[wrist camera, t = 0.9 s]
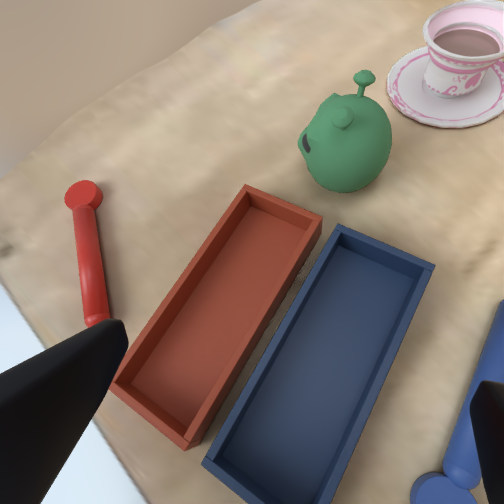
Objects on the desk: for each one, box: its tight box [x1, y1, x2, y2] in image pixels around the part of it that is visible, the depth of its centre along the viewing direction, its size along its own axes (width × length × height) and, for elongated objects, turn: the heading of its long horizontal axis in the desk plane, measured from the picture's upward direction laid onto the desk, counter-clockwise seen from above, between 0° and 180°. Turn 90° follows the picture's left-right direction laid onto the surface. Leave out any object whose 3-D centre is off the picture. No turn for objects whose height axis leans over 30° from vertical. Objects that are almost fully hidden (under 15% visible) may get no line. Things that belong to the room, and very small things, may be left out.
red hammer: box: [64, 180, 110, 328], centre depth 31 cm, size 17×4×2 cm, turn 20°
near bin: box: [201, 224, 435, 504], centre depth 23 cm, size 20×8×3 cm, turn 148°
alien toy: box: [298, 70, 392, 193], centre depth 27 cm, size 7×8×10 cm
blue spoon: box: [410, 300, 504, 504], centre depth 21 cm, size 17×4×2 cm, turn 148°
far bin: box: [109, 184, 323, 451], centre depth 26 cm, size 20×8×3 cm, turn 148°
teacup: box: [387, 0, 504, 128], centre depth 31 cm, size 12×12×6 cm
